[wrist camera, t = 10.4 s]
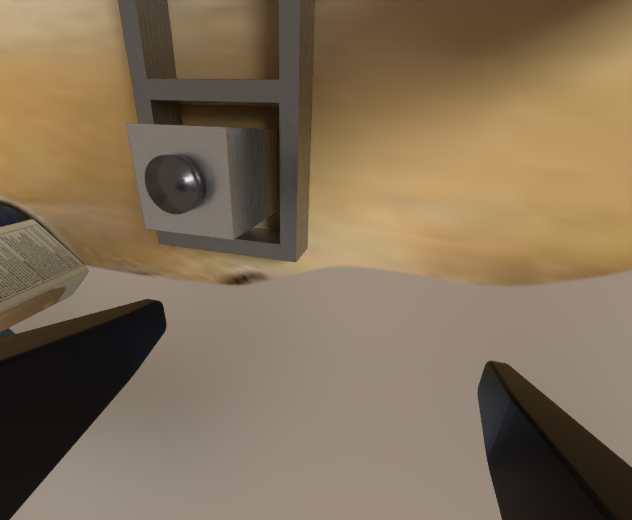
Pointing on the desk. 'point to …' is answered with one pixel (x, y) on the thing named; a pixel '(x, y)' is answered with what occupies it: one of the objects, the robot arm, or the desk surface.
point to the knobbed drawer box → (204, 177)
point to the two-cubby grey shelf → (288, 93)
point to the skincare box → (33, 272)
